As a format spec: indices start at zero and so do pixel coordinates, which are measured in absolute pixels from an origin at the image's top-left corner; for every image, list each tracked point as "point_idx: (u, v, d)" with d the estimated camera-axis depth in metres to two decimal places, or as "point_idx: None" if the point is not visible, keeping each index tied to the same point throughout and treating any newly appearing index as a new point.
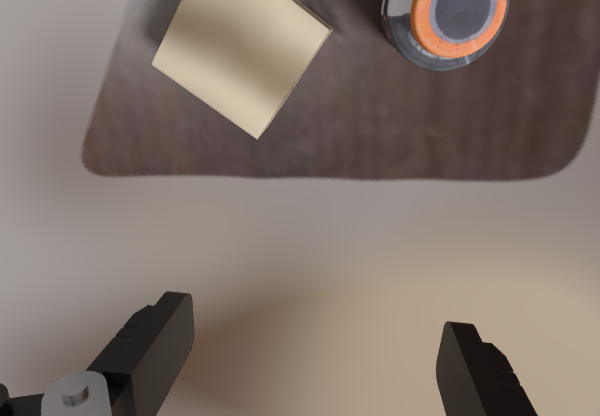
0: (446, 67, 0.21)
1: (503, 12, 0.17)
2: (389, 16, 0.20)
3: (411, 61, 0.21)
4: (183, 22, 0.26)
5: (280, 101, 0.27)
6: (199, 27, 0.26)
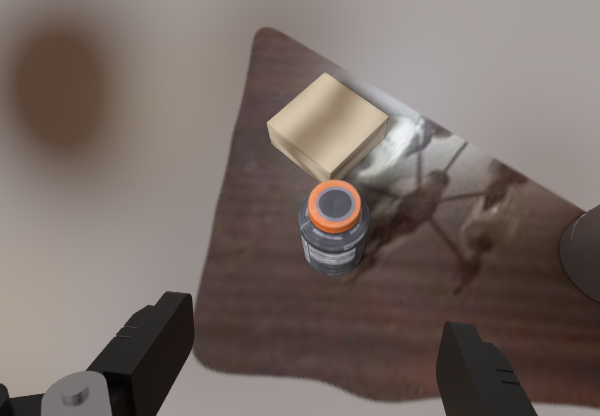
0: (300, 214, 0.31)
1: (330, 225, 0.28)
2: None
3: (307, 196, 0.32)
4: (346, 94, 0.42)
5: (290, 140, 0.40)
6: (342, 102, 0.41)
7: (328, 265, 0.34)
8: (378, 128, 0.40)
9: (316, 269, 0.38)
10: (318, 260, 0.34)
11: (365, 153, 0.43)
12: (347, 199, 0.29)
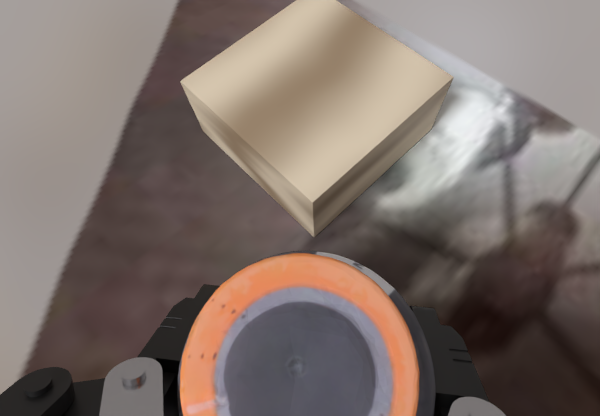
0: None
1: None
2: (316, 251, 0.10)
3: None
4: (358, 29, 0.19)
5: (225, 120, 0.17)
6: (349, 44, 0.19)
7: None
8: (428, 103, 0.18)
9: None
10: None
11: (394, 158, 0.20)
12: (356, 358, 0.06)
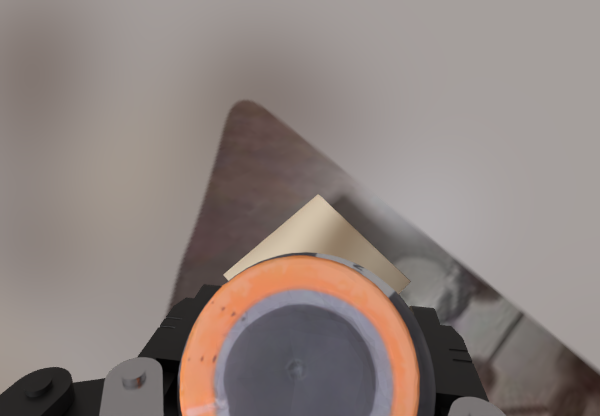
0: None
1: None
2: (316, 253, 0.10)
3: None
4: (347, 234, 0.28)
5: None
6: (340, 248, 0.27)
7: None
8: None
9: None
10: None
11: None
12: (356, 362, 0.06)
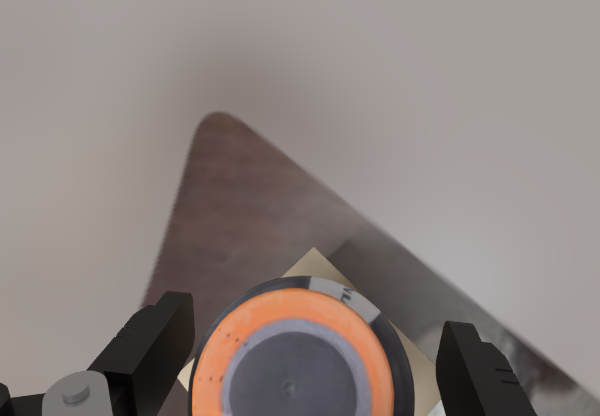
0: (193, 376, 0.10)
1: None
2: (311, 277, 0.11)
3: (225, 309, 0.11)
4: None
5: None
6: None
7: None
8: None
9: None
10: None
11: None
12: (340, 382, 0.07)
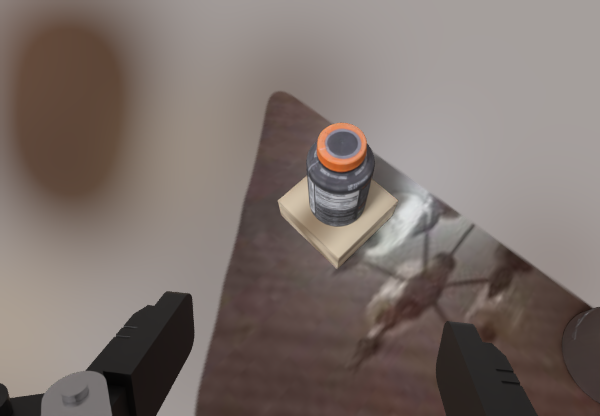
0: (309, 156, 0.34)
1: (337, 162, 0.30)
2: None
3: (316, 141, 0.34)
4: None
5: (300, 220, 0.41)
6: None
7: (332, 211, 0.36)
8: (387, 212, 0.41)
9: (320, 219, 0.40)
10: (323, 205, 0.36)
11: (373, 232, 0.43)
12: (354, 140, 0.31)
